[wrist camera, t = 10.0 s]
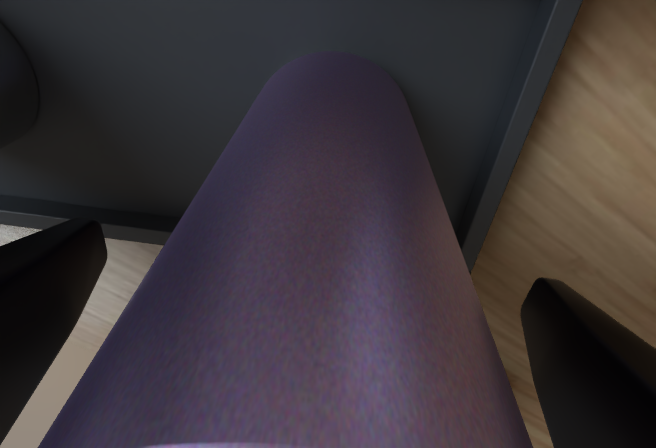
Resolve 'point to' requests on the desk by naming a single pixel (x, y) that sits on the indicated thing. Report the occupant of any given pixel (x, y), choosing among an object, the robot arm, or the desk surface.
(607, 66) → the desk surface
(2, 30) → the can
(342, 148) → the beverage can
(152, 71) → the tray
